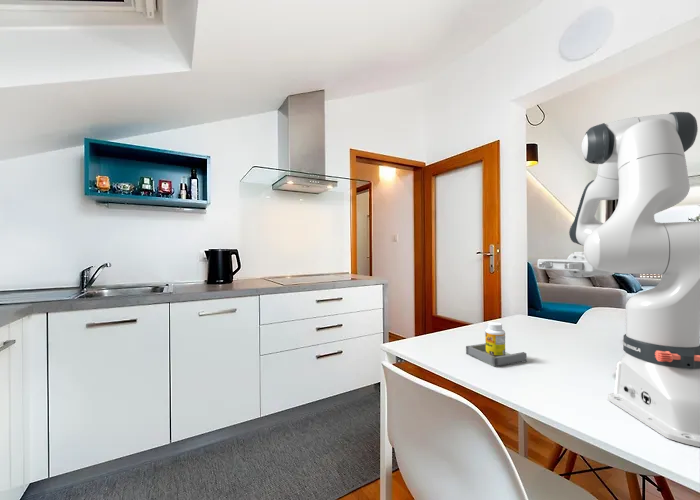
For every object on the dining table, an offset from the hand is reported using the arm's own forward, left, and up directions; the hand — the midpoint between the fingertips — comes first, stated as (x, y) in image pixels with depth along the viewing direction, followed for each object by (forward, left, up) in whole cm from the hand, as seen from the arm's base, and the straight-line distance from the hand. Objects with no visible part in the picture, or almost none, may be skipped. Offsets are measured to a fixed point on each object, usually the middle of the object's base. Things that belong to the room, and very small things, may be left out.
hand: (552, 265), depth 102 cm
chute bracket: (-12, +20, -28) cm, 36 cm away
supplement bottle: (-12, +20, -28) cm, 36 cm away
